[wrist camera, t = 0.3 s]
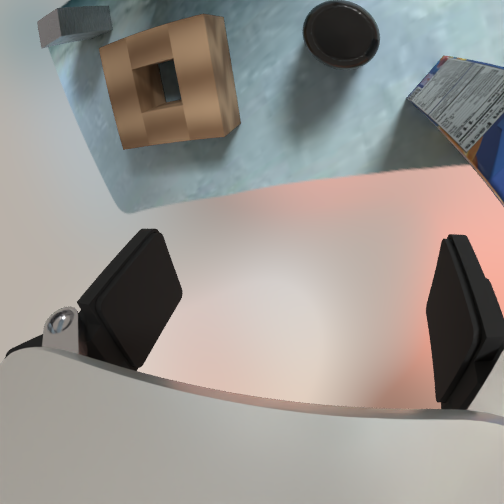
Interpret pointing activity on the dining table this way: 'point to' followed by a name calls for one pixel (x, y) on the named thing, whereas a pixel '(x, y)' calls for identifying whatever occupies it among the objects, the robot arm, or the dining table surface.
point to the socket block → (189, 79)
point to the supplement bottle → (341, 34)
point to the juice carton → (468, 113)
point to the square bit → (73, 24)
